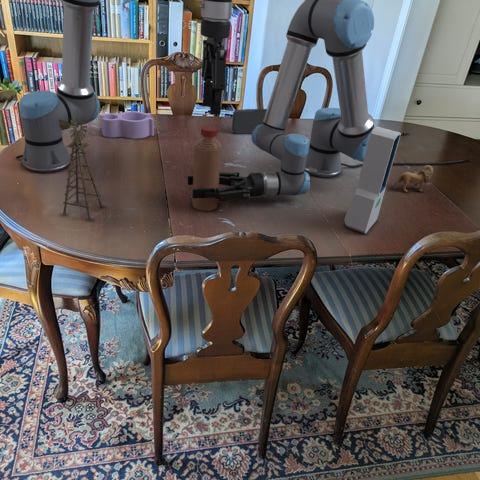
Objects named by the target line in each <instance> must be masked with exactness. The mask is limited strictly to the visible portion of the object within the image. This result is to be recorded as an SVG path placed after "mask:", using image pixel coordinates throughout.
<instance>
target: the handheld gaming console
mask: <svg viewBox="0 0 480 480" xmlns="http://www.w3.org/2000/svg"><path fill="white" fill-rule="evenodd" d="M266 111H267V108H244V109H235V110H233V111H232V121H231V131H232V132H233V133H234V134H237V135H238V134H240V135H241V134H252V132H253V130H255V128H256V127H257V126H258V125H261V124H262V123H263V120H264V117H265V114H266Z"/></svg>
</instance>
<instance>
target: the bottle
mask: <svg viewBox="0 0 480 480" xmlns="http://www.w3.org/2000/svg"><path fill="white" fill-rule="evenodd" d="M222 150H223V145H222V143H221V142H220V141H219V140H218V139H217V138H216V137H205V136H203V135H202V136H201V137H200V138H199V139H197V140H196V141H195V142H194V145H193V170H192V176H193V185H192V189H191V190H192V192H191V193H192V194H191V207H193V208H194V209H196V210H198V211H203V212H209V211H214V210H215V209H217V208H218V205H219V204H218V203H219V201H218V199H216V198H215V197H214V198H193V197H192V196H193V189H208V188H214V189H215V190H216V188H218V189H220V184H219V179H220V172H221V166H222V165H221V164H222Z"/></svg>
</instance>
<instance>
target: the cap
mask: <svg viewBox="0 0 480 480" xmlns="http://www.w3.org/2000/svg"><path fill="white" fill-rule="evenodd" d="M200 135H201V136H202V137H203V136H205V137H214V138H216V137H217V135H218V128H217V127H216V126H215V125H203V126H201V129H200Z"/></svg>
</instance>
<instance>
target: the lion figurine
mask: <svg viewBox="0 0 480 480" xmlns="http://www.w3.org/2000/svg"><path fill="white" fill-rule="evenodd" d="M421 168H422V169H420V170H419V172H415V173H413V172H409V171H404V172H402V173H401V174H400V175H399V177H398V178H397V180H396V181H395V182H394V185H393V188H392V190H396V189H397V188H398V184H400V183H403V184H402V189H403V192H405V193H408V189H406V187H407V186H408V185H409V184H410V183H411V184H413V188H414V189H418V192H421V193H422V192H423V190H422V188H423V187H424V184H425V183H427V182H429V181H430V179H431V177H432V175H433V173H434V168H433V166H432V165H423V166H422V167H421ZM418 184H419V186H418Z"/></svg>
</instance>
